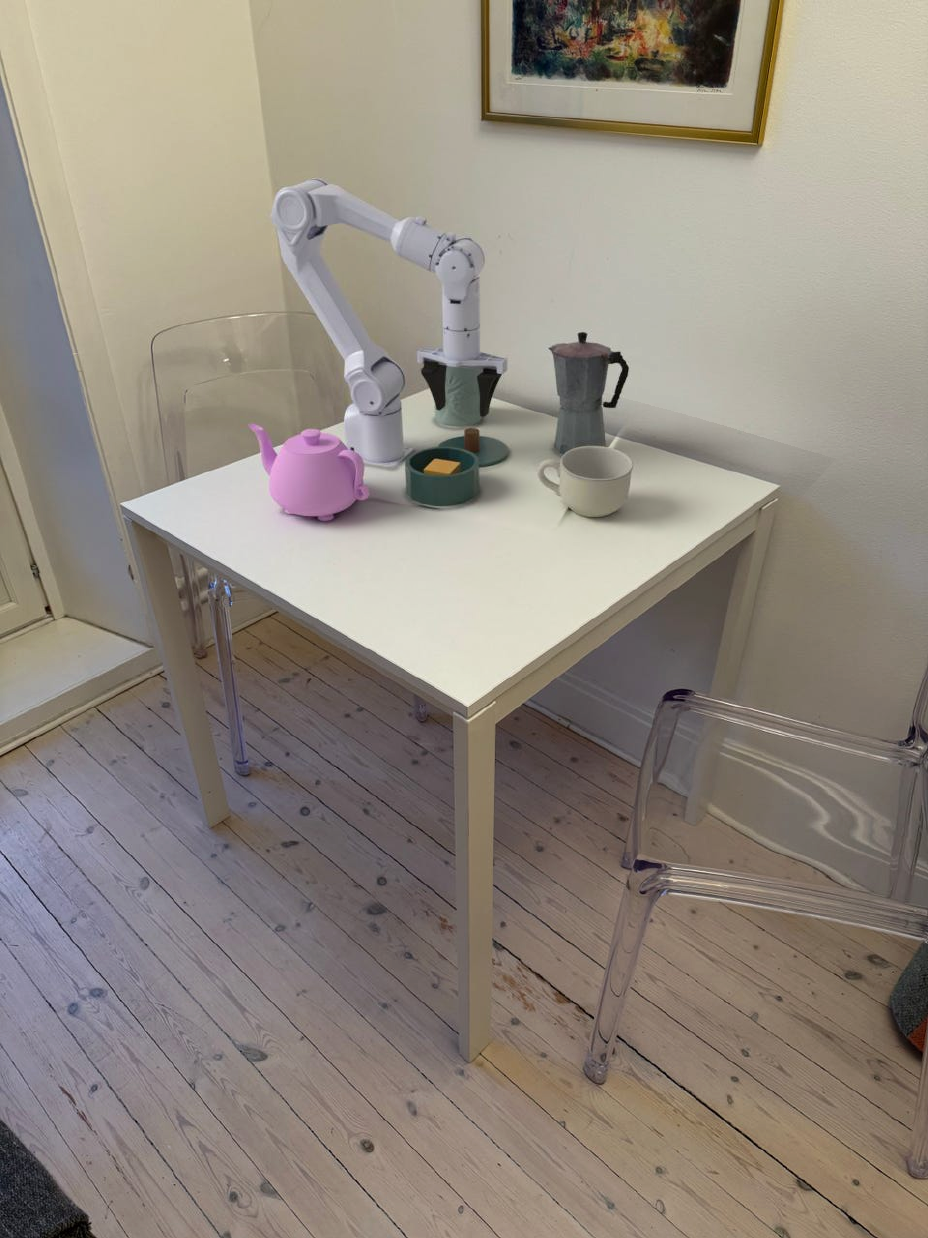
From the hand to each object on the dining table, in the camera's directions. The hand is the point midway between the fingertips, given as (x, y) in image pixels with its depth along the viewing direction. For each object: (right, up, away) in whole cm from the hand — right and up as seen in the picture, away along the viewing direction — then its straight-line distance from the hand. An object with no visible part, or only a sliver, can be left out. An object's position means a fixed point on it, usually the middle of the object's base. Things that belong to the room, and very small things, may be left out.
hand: (462, 411), depth 143 cm
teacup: (+18, -17, -7) cm, 26 cm away
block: (-3, -13, -3) cm, 14 cm away
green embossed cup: (-1, +3, +23) cm, 23 cm away
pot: (-3, -13, -2) cm, 14 cm away
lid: (+2, -5, +9) cm, 10 cm away
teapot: (-23, -16, -5) cm, 28 cm away
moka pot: (+21, -4, +11) cm, 24 cm away
